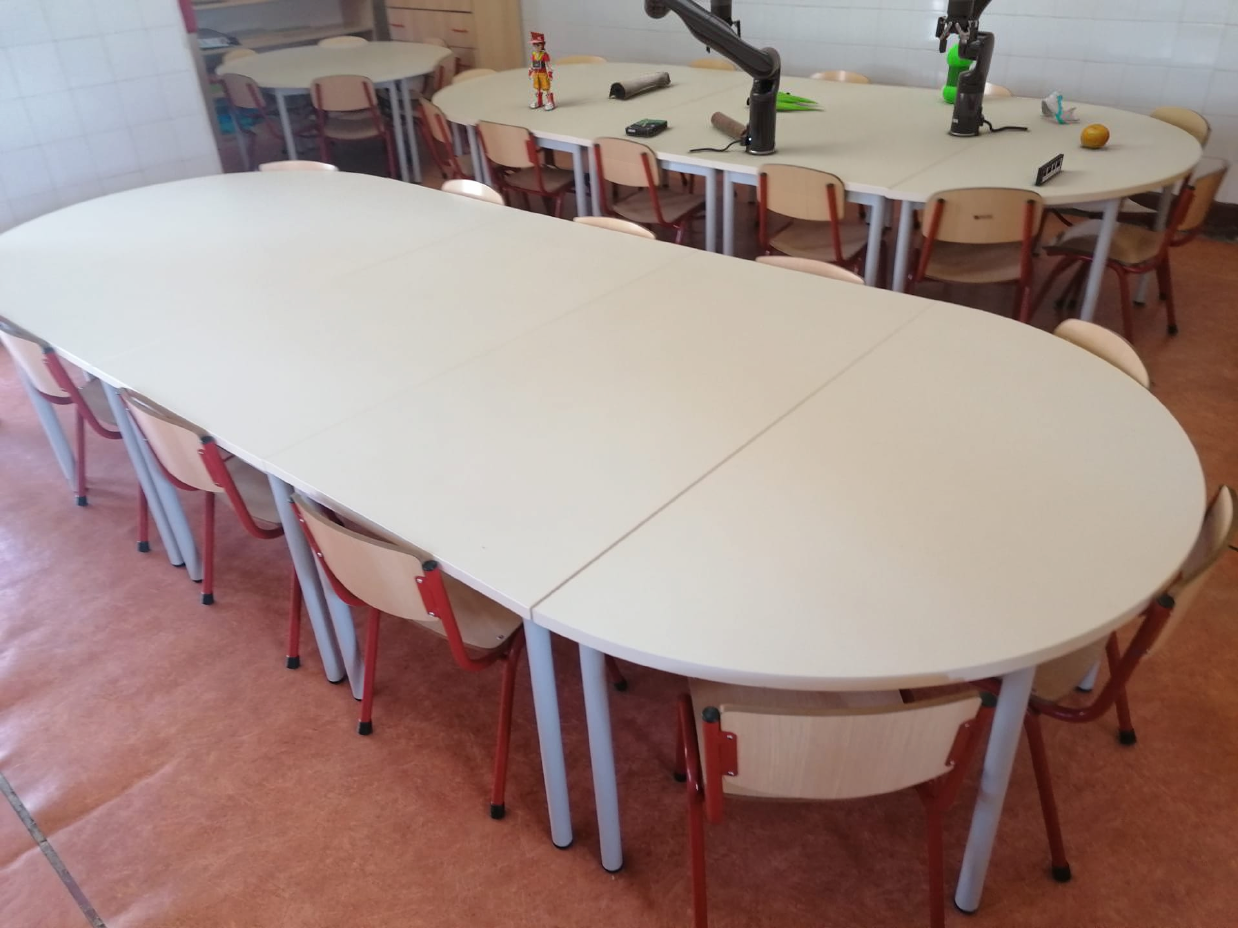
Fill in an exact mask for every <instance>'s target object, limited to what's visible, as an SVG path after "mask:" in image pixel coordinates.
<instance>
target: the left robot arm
mask: <svg viewBox="0 0 1238 928" xmlns="http://www.w3.org/2000/svg"><path fill="white" fill-rule="evenodd" d="M709 2H710V11H709V10H707V9H706V8H704V7H703V6H701V5H700V4H698V3H697V2H696V1H694V0H644V2H643V7H644V8H643V10H644V12H645V13H646V15H647V16H648V17H649V18H651V19H653V20H660V19H663V18H665V17H666V16H667V15H669V13H670V12H671V11H672V12H673V13H674V14H676V15H677V16H678V17H679V19H680V20H681V21H682V22H683V24H684V25H685V27H686V28H687V30H688V31H689V32H690V34H691V35H692V36H693V37H694V38H695V40H697V41H698V42H700V43H701V44H702V45H705V47H706V48H705V51H706V52H707V53H708V54H711V50H712V51H715V52H716V53H717V54H719V55H721V56H723V57H724V58H726V59H728V60H729V61H731V62H732V63H734V64H735V65H737V67H739V68H741V70H743V71H744V72H745V73H746V74H748V75H749V76H750V77H751V78H752V80H753V81H752V85H751V89H750V91H749V97H750V105H749V106H748V107H749V109H748V122H747V123H746V124H745V126H746V134H745V135H743V136H741V137H740V140H737V139H736V140H734V141H732V142H730V143H729V144H728V145H727V146H726V147H725V148H722V149H719V148H713V147H701V148H694V149H689V153H695V152H701V151H714V152H719V153H720V152H725V151H727V150H728V149H729V148H730V147H731V146H733V145H735V144H737V143H740V144H739V146H740V147H745V152H746V153H749V154H751V155H757V156H761V155H762V156H765V155H771V154H773V153H775V152H776V146H777V141H776V131H777V110H778V109H777V94H778V92H779V91H780V85H781V84H780V83H781V71H782V59H781V54H780V53H779V52H778V50H777V49H775V48H774V47H772V46H764V47H762V48H760V49H759V48H758V47H755V46H753V45H751V44H750V43H748V42H746V41H745V40H743V39H742V33H741V31H742V29H741V20H740V19H737V20H733V18H732V17H733V15H732V14H733V0H709ZM733 26H734V27H735V28H736V31H735V30H734V28H733Z"/></svg>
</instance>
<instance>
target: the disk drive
mask: <svg viewBox="0 0 1238 928" xmlns="http://www.w3.org/2000/svg"><path fill="white" fill-rule="evenodd" d="M667 128H668V120H663V119H652V118H651V119H650V118H643V119H640V120H639V121H636V122H634V123H633V124H630V125H628V126H626V127H625V129H624V130H625V135H629V136H637V137H651V136H653V135H655V134H657V133H659V132H661V131H663V130H665V129H667Z"/></svg>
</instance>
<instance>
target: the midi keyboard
mask: <svg viewBox="0 0 1238 928" xmlns="http://www.w3.org/2000/svg"><path fill="white" fill-rule="evenodd" d="M1064 157H1065V153H1059V154H1058V155H1056V156H1055V157H1052V159H1051V160H1049V161H1047V162H1045V164H1042V165H1041V166H1039V167H1038V169H1037V175H1036V179H1035V186H1040V185H1042V183H1044V182H1045V181H1047V180H1048V179H1049V178H1051V177H1052V176H1054V175H1055V174H1056V173H1058V172H1060V171H1061V170H1062V165H1063V161H1064Z"/></svg>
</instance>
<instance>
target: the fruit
mask: <svg viewBox="0 0 1238 928" xmlns="http://www.w3.org/2000/svg"><path fill="white" fill-rule="evenodd" d="M1110 135H1111V134H1110V130H1109V128H1108V127H1107V126H1106V125H1103V124H1101V123H1100V124H1099V123H1098V124H1097V123H1094V124H1090V125H1088V126H1086V127H1084V128H1083V130H1082V131H1081V133H1080V137H1079V139H1080V143H1081V146H1083V147H1085V148H1089V149H1100V148H1101V147H1104V146H1105V145H1106V144H1107V143H1108V141H1109V139H1110V138H1111V137H1110Z"/></svg>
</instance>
